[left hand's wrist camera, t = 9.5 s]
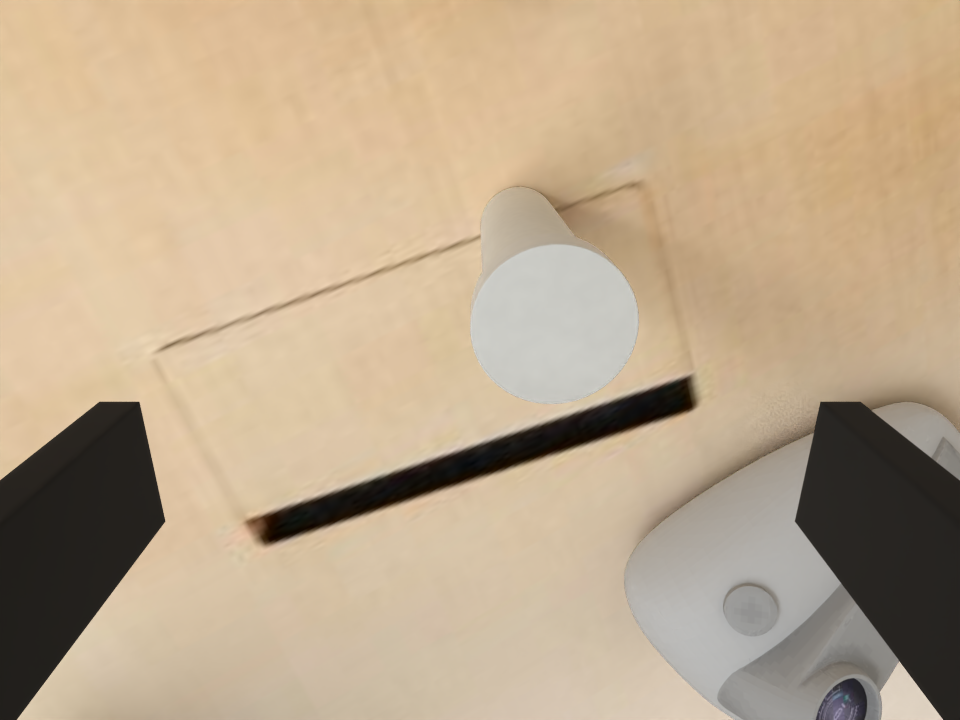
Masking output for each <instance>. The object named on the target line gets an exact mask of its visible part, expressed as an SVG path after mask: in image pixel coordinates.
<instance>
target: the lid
mask: <svg viewBox="0 0 960 720" xmlns="http://www.w3.org/2000/svg"><path fill="white" fill-rule="evenodd" d="M638 327H639V312H638V307H637V301H636V298H635V295H634V292H633V290H632V288H631V286H630V284H629V282H628V281H627V279H626V278H625V276H624V275H623V274H622V272H621V271H620V270H619V269H618V268H617V267H616V266H615V264H614V263H613V262H612V261H611V260H610V259H609V258H608V257H607V256H606V255H605V253H603V252H602V251H601V250H600V249H598V248H597V247H596V246H594V245H592V244H591V243H589V242H587V241H585V240H583V239H580V238H578V237H574V236H570V235H566V234H558V233H546V234H538V235H533V236H530V237H526V238H523V239H521V240H518V241H516V242H514V243H512V244H511V245H509V246H507V247H506V248H504V249H503V250H502V251H500V252H499V253H498V254H497V255H496V256H495V257H494V258H493V259H492V260H491V261H490V262H489V263H488V264H487V266H486V267H485V268H484V270H483V271H482V273H481V275H480V277H479V278H478V281H477V283H476V285H475V288H474V292H473V295H472V302H471V320H470V333H471V340H472V345H473V349H474V352H475V355H476V357H477V359H478V361H479V363H480V365H481V367H482V368H483V370H484V371H485V372H486V374H487V375H488V376H489V377H490V379H491V380H493V381H494V382H495V383H496V384H497V385H498V386H499V387H501V388H502V389H503V390H505V391H506V392H508V393H510V394H512V395H514V396H516V397H518V398H521V399H523V400H527V401H531V402H535V403H542V404H560V403H567V402H572V401H576V400H579V399H582V398H584V397H587V396H589V395H591V394H593V393H595V392H597V391H598V390H600V389H601V388H603V387H604V386H606V385H607V384H608V383H609V382H610V381H612V380H613V379H614V378H615V377H616V375H617V374H618V373H619V372H620V371H621V370H622V368H623V367H624V366H625V364H626V363H627V361H628V359H629V357H630V355H631V354H632V351H633V348H634V346H635V343H636V339H637V335H638Z"/></svg>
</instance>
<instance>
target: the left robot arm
mask: <svg viewBox="0 0 960 720" xmlns="http://www.w3.org/2000/svg"><path fill="white" fill-rule="evenodd" d="M164 522H165V518H164V513H163V509H162V504H161V499H160V495H159V490H158V486H157V481H156V476H155V472H154V467H153V462H152V458H151V453H150V449H149V444H148V439H147V435H146V430H145V426H144V421H143V416H142V412H141V407H140V403H139V402H99V403H98V404H96V405H95V406H94V407H92V408H91V409H90V410H89V411H87V412H86V413H85V414H84V415H82V416H81V417H80V418H79V419H77V420H76V421H75V422H73V423H72V424H71V425H70V426H68V427H67V428H66V429H65V430H63V431H62V432H61V433H60V434H58V435H57V436H56V437H54V438H53V439H52V440H51V441H49V442H48V443H47V444H46V445H44V446H43V447H42V448H41V449H39V450H38V451H37V452H35V453H34V454H33V455H32V456H30V457H29V458H28V459H27V460H25V461H24V462H23V463H22V464H20V465H19V466H18V467H16V468H15V469H14V470H13V471H11V472H10V473H9V474H8V475H6V476H5V477H4V478H3V479H1V480H0V720H17V719H18V717H19V716H20V715H21V713H22V712H23V711H24V709H25V708H26V707H27V705H28V704H29V703H30V701H31V700H32V699H33V697H34V696H35V695H36V693H37V692H38V691H39V689H40V688H41V687H42V685H43V684H44V683H45V681H46V680H47V679H48V677H49V676H50V675H51V673H52V672H53V671H54V669H55V668H56V667H57V665H58V664H59V663H60V661H61V660H62V659H63V657H64V656H65V655H66V653H67V652H68V651H69V649H70V648H71V647H72V645H73V644H74V643H75V641H76V640H77V639H78V637H79V636H80V635H81V633H82V632H83V631H84V629H85V628H86V627H87V625H88V624H89V623H90V621H91V620H92V619H93V617H94V616H95V615H96V613H97V612H98V611H99V609H100V608H101V607H102V605H103V604H104V603H105V601H106V600H107V599H108V597H109V596H110V595H111V593H112V592H113V591H114V589H115V588H116V587H117V585H118V584H119V583H120V581H121V580H122V579H123V577H124V576H125V575H126V573H127V572H128V570H129V569H130V568H131V566H132V565H133V564H134V562H135V561H136V560H137V558H138V557H139V556H140V554H141V553H142V552H143V550H144V549H145V548H146V546H147V545H148V544H149V542H150V541H151V540H152V538H153V537H154V536H155V534H156V533H157V532H158V530H159V529H160V528H161V526H162V525H163V524H164ZM795 522H796V524H797V525H798V526H799V528H800V529H801V530H802V532H803V533H804V534H805V536H806V537H807V538H808V540H809V541H810V542H811V544H812V545H813V546H814V548H815V549H816V550H817V552H818V553H819V554H820V556H821V557H822V558H823V560H824V561H825V562H826V564H827V565H828V566H829V568H830V569H831V570H832V572H833V573H834V575H835V576H836V577H837V579H838V580H839V581H840V583H841V584H842V585H843V587H844V588H845V589H846V591H847V592H848V593H849V595H850V596H851V597H852V599H853V600H854V601H855V603H856V604H857V605H858V607H859V608H860V609H861V611H862V612H863V613H864V615H865V616H866V617H867V619H868V620H869V621H870V623H871V624H872V625H873V627H874V628H875V629H876V631H877V632H878V633H879V635H880V636H881V637H882V639H883V640H884V641H885V643H886V644H887V645H888V647H889V648H890V649H891V651H892V652H893V653H894V655H895V656H896V657H897V659H898V660H899V661H900V663H901V664H902V665H903V667H904V668H905V669H906V671H907V672H908V673H909V675H910V676H911V677H912V679H913V680H914V681H915V683H916V684H917V685H918V687H919V688H920V689H921V691H922V692H923V693H924V695H925V696H926V697H927V699H928V700H929V701H930V703H931V704H932V705H933V707H934V708H935V709H936V711H937V712H938V713H939V715H940V716H941V717H942V719H943V720H960V480H959V479H957V478H956V477H955V476H954V475H952V474H951V473H950V472H949V471H947V470H946V469H945V468H944V467H942V466H941V465H940V464H938V463H937V462H936V461H935V460H933V459H932V458H931V457H930V456H928V455H927V454H926V453H925V452H923V451H922V450H921V449H919V448H918V447H917V446H916V445H914V444H913V443H912V442H911V441H909V440H908V439H907V438H906V437H904V436H903V435H902V434H900V433H899V432H898V431H897V430H895V429H894V428H893V427H892V426H890V425H889V424H888V423H887V422H885V421H884V420H883V419H881V418H880V417H879V416H878V415H876V414H875V413H874V412H873V411H871V410H870V409H869V408H868V407H866V406H865V405H864V404H862V403H861V402H821V403H820V407H819V412H818V416H817V421H816V426H815V430H814V435H813V439H812V444H811V449H810V453H809V458H808V463H807V467H806V472H805V476H804V481H803V486H802V490H801V495H800V499H799V504H798V509H797V513H796V518H795Z"/></svg>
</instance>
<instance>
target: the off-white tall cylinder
mask: <svg viewBox="0 0 960 720" xmlns="http://www.w3.org/2000/svg"><path fill="white" fill-rule="evenodd" d="M546 233H558V234H566V235H570V236H574V237H576V236H575V235H574V234H573V232H572V231H571V230H570V229H569V227H568V226H567V225H566V223H565V222H564V221H563V219H562V218H561V217H560V215H559V214H558V213H557V212H556V210H555V209H554V208H553V206H552V205H551V204H550V202H549V201H548V200H547V199H546V198H545V197H544V196H543V195H542V194H541V193H539V192H537V191H535V190H533V189H530V188H527V187H512V188H508V189H505V190H503V191H501V192H499V193H498V194H496V195H495V196H494V197H493V198H492V199H491V200H490V201H489V202H488V204H487V205H486V207H485V209H484V211H483V214H482V217H481V253H482V271H483V270H484V268H485V267H486V266H487V264H488V263H489V262H490V261H491V260H492V259H493V258H494V257H495V256H496V255H497V254H498V253H499V252H500V251H502V250H503V249H504V248H506V247H507V246H509V245H511V244H512V243H514V242H516V241H518V240H521V239H523V238H526V237H530V236H533V235H538V234H546Z"/></svg>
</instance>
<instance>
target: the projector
mask: <svg viewBox="0 0 960 720" xmlns="http://www.w3.org/2000/svg"><path fill="white" fill-rule="evenodd" d="M871 411H873V412H874V413H875V414H876V415H878V416H879V417H880V418H881V419H883V420H884V421H885V422H887V423H888V424H889V425H890V426H892V427H893V428H894V429H895V430H897V431H898V432H899V433H900V434H902V435H903V436H904V437H906V438H907V439H908V440H909V441H911V442H912V443H913V444H914V445H916V446H917V447H918V448H919V449H921V450H922V451H923V452H925V453H926V454H927V455H928V456H930V457H931V458H932V459H933V460H935V461H936V462H937V463H938V464H940V465H941V466H942V467H944V468H945V469H946V470H947V471H949V472H950V473H951V474H952V475H954V476H955V477H956V478H957V479H959V480H960V433H959V431H958V430H957V429H956V428H955V426H954V425H953V424H952V423H951V422H950V421H949V420H948V419H947V418H946V417H945V416H943V415H942V414H941V413H939V412H938V411H936V410H934V409H933V408H930V407H928V406H926V405H923V404H919V403H914V402H900V403H894V404H890V405H886V406H883V407H879V408H876V409H873V410H871ZM813 435H814V433H812V434H809V435H807V436H805V437H803V438H800V439H798V440H796V441H794V442H792V443H790V444H788V445H786V446H784V447H782V448H780V449H778V450H776V451H774V452H772V453H770V454H768V455H766V456H764V457H762V458H760V459H758V460H757V461H755V462H753V463H751V464H749V465H748V466H746V467H744V468H742V469H740V470H739V471H737V472H735V473H734V474H732V475H730V476H729V477H727V478H725V479H724V480H722V481H720V482H719V483H717V484H715V485H714V486H712V487H711V488H709V489H708V490H706V491H705V492H703V493H702V494H700V495H698V496H697V497H695V498H694V499H692V500H691V501H690V502H688V503H687V504H685V505H684V506H682V507H681V508H680V509H678V510H677V511H675V512H674V513H673V514H671V515H670V516H669V517H667V518H666V519H665V520H664V521H662V522H661V523H660V524H659V525H657V526H656V527H655V528H654V529H653V530H652V531H651V532H649V533H648V534H647V535H646V537H645V538H644V539H643V540H642V541H641V542H640V543H639V544H638V545H637V547H636V548H635V549H634V551H633V552H632V554H631V556H630V558H629V560H628V562H627V565H626V569H625V574H624V586H625V593H626V596H627V600H628V603H629V606H630V608H631V611H632V613H633V616H634V618H635V620H636V622H637V623H638V625H639V627H640V629H641V630H642V632H643V633H644V634H645V636H646V637H647V639H648V640H649V641H650V642H651V644H652V645H653V646H654V647H655V649H656V650H657V651H658V652H659V653H660V654H661V656H662V657H663V658H664V659H665V660H666V661H667V662H668V663H669V664H670V665H671V666H672V668H673V669H674V670H675V671H676V672H677V673H678V674H679V675H680V676H681V677H682V678H683V679H684V680H685V681H686V682H687V683H688V684H689V685H690V686H691V687H692V688H694V689H695V690H696V691H697V692H698V693H699V694H700V695H701V696H702V697H704V698H705V699H706V700H707V701H708V702H710V703H711V704H712V705H714V706H715V707H716V708H718V709H719V710H721V711H722V712H724V713H725V714H727V715H728V716H730V717H731V718H733V719H734V720H881V714H882V701H881V696H880V693H879V692H880V691H881V689H882V688H883V686H884V685H885V683H886V682H887V680H888V678H889V677H890V675H891V673H892V672H893V670H894V669H895V667H896V665H897V664H898V662H899V660H898V659H897V657H896V656H895V655H894V653H893V652H892V651H891V649H890V648H889V647H888V645H887V644H886V643H885V641H884V640H883V639H882V637H881V636H880V635H879V633H878V632H877V631H876V629H875V628H874V627H873V625H872V624H871V623H870V621H869V620H868V619H867V617H866V616H865V615H864V613H863V612H862V611H861V609H860V608H859V607H858V605H857V604H856V603H855V601H854V600H853V599H852V597H851V596H850V595H849V593H848V592H847V591H846V589H845V588H844V587H843V585H842V584H841V583H840V581H839V580H838V579H837V577H836V576H835V575H834V573H833V572H832V570H831V569H830V568H829V566H828V565H827V564H826V562H825V561H824V560H823V558H822V557H821V556H820V554H819V553H818V552H817V550H816V549H815V548H814V546H813V545H812V544H811V542H810V541H809V540H808V538H807V537H806V536H805V534H804V533H803V532H802V530H801V529H800V528H799V526H798V525H797V524H796V522H795V518H796V513H797V509H798V504H799V499H800V495H801V490H802V486H803V481H804V476H805V472H806V467H807V463H808V458H809V453H810V449H811V444H812V439H813Z"/></svg>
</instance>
